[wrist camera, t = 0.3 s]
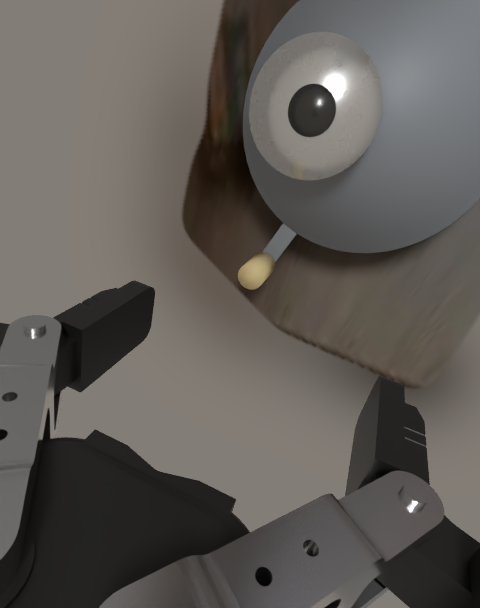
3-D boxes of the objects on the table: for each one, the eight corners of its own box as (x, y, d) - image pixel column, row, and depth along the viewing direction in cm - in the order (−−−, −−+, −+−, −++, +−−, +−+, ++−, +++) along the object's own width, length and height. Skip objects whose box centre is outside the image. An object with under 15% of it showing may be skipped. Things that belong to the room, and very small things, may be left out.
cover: (277, 28, 31) (266, 18, 28) (405, 55, 29) (405, 47, 26) (248, 159, 36) (236, 161, 33) (356, 190, 33) (352, 196, 31)
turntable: (285, -55, 30) (262, -93, 25) (584, -6, 26) (630, -40, 21) (220, 252, 42) (195, 269, 37) (416, 322, 38) (419, 352, 33)
